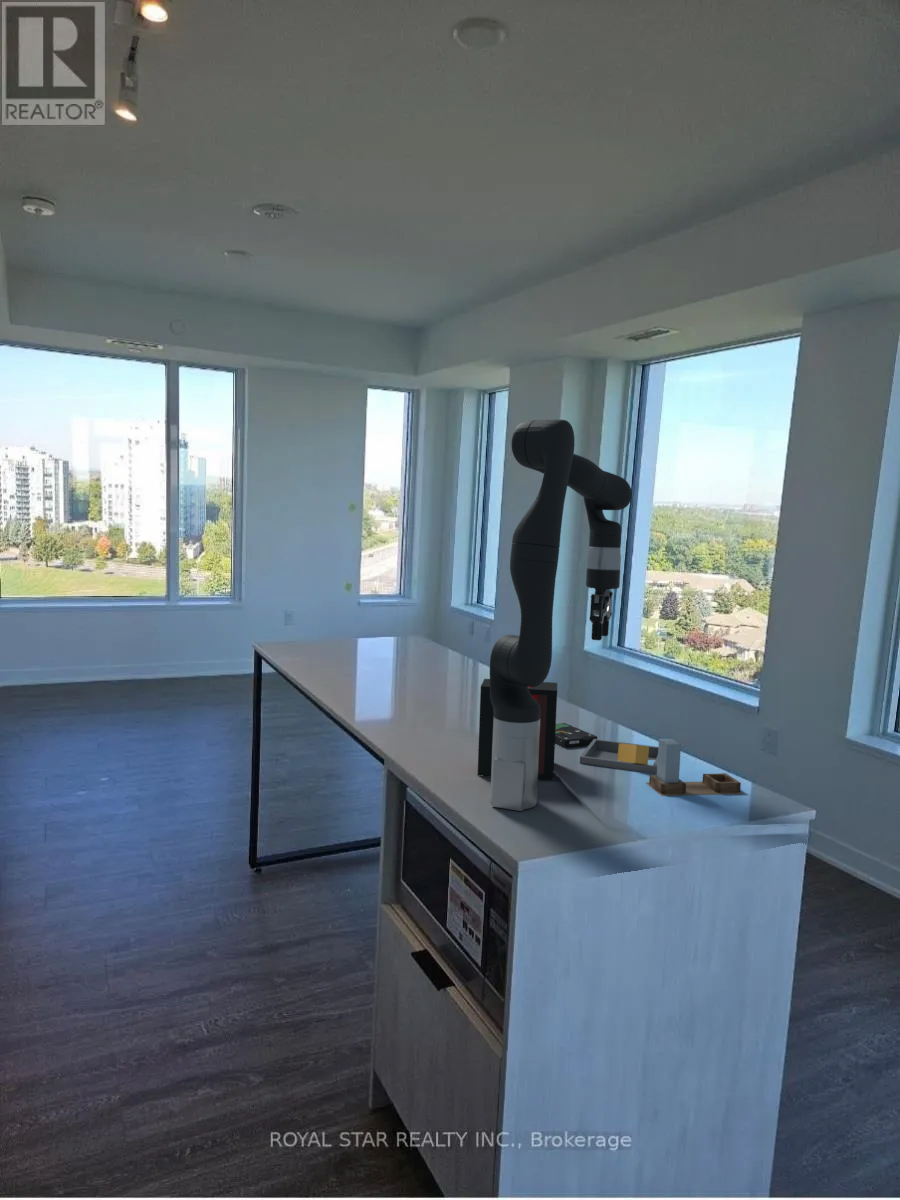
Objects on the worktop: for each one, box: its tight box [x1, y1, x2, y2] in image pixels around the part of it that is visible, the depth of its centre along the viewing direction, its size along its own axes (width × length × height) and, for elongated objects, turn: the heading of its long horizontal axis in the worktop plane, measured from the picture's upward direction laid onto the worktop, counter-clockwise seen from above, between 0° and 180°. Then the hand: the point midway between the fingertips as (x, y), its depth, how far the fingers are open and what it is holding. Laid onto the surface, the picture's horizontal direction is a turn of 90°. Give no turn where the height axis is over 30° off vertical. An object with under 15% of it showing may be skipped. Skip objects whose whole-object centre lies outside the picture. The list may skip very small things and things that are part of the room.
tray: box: [579, 738, 659, 775], centre depth 182 cm, size 17×17×3 cm
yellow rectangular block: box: [617, 743, 649, 765], centre depth 178 cm, size 4×3×10 cm
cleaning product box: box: [477, 678, 558, 782], centre depth 173 cm, size 16×9×20 cm, turn 82°
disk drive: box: [555, 722, 598, 749], centre depth 204 cm, size 10×3×15 cm
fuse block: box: [645, 772, 744, 797], centre depth 162 cm, size 8×18×4 cm, turn 99°
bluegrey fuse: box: [656, 738, 682, 783], centre depth 161 cm, size 4×3×10 cm
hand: (599, 637), depth 178 cm, fingers open, 8 cm apart
